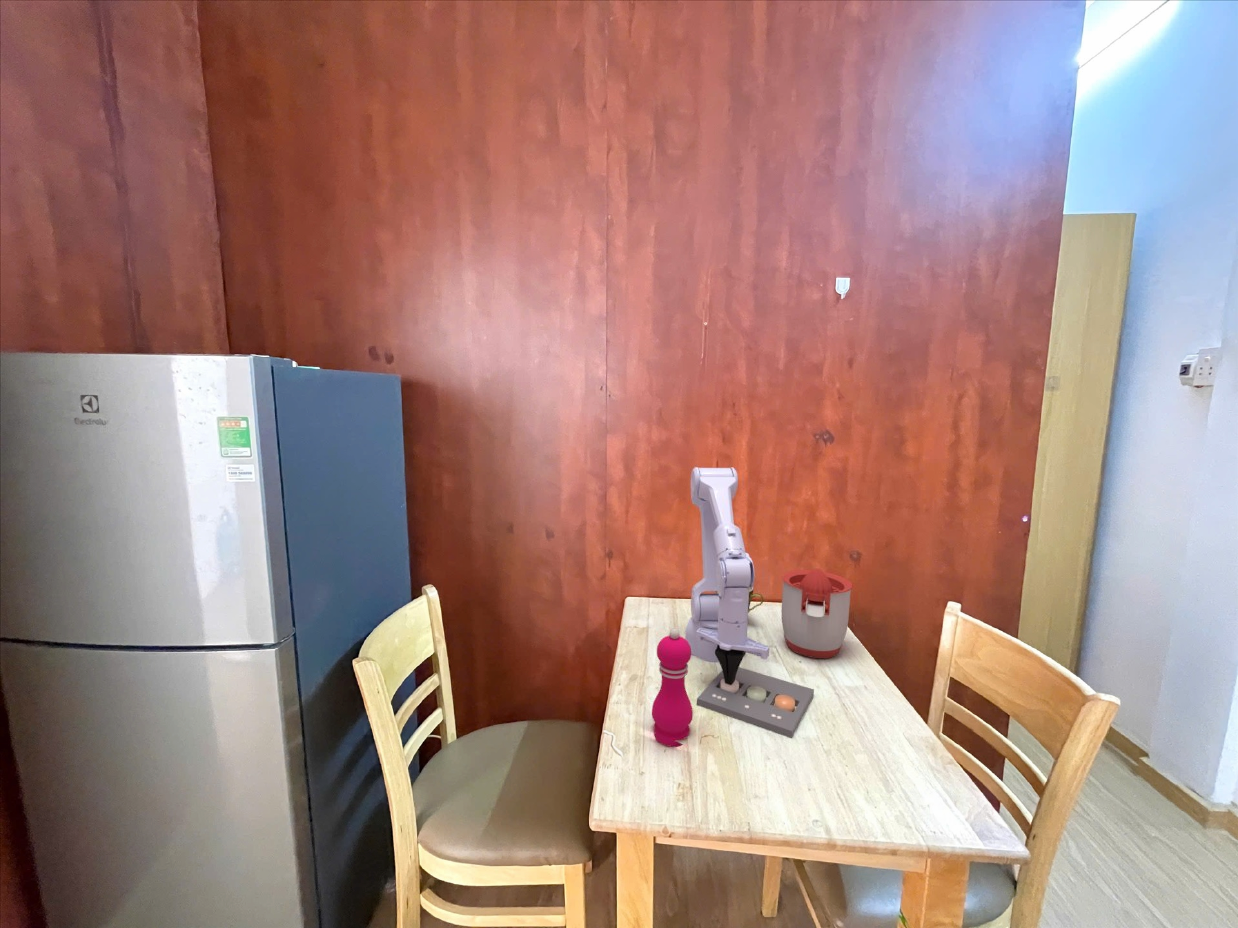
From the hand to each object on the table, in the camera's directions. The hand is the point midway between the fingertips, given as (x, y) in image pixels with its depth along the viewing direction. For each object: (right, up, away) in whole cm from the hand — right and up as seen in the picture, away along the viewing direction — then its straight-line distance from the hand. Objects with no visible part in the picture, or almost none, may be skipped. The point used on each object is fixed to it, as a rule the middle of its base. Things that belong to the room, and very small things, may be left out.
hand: (729, 681), depth 108 cm
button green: (+5, -4, -3) cm, 6 cm away
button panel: (+5, -4, -3) cm, 6 cm away
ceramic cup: (+9, +1, +35) cm, 36 cm away
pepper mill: (-13, -5, -12) cm, 18 cm away
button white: (0, -3, 0) cm, 3 cm away
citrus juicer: (+24, -1, +21) cm, 32 cm away
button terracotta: (+9, -4, -6) cm, 11 cm away
